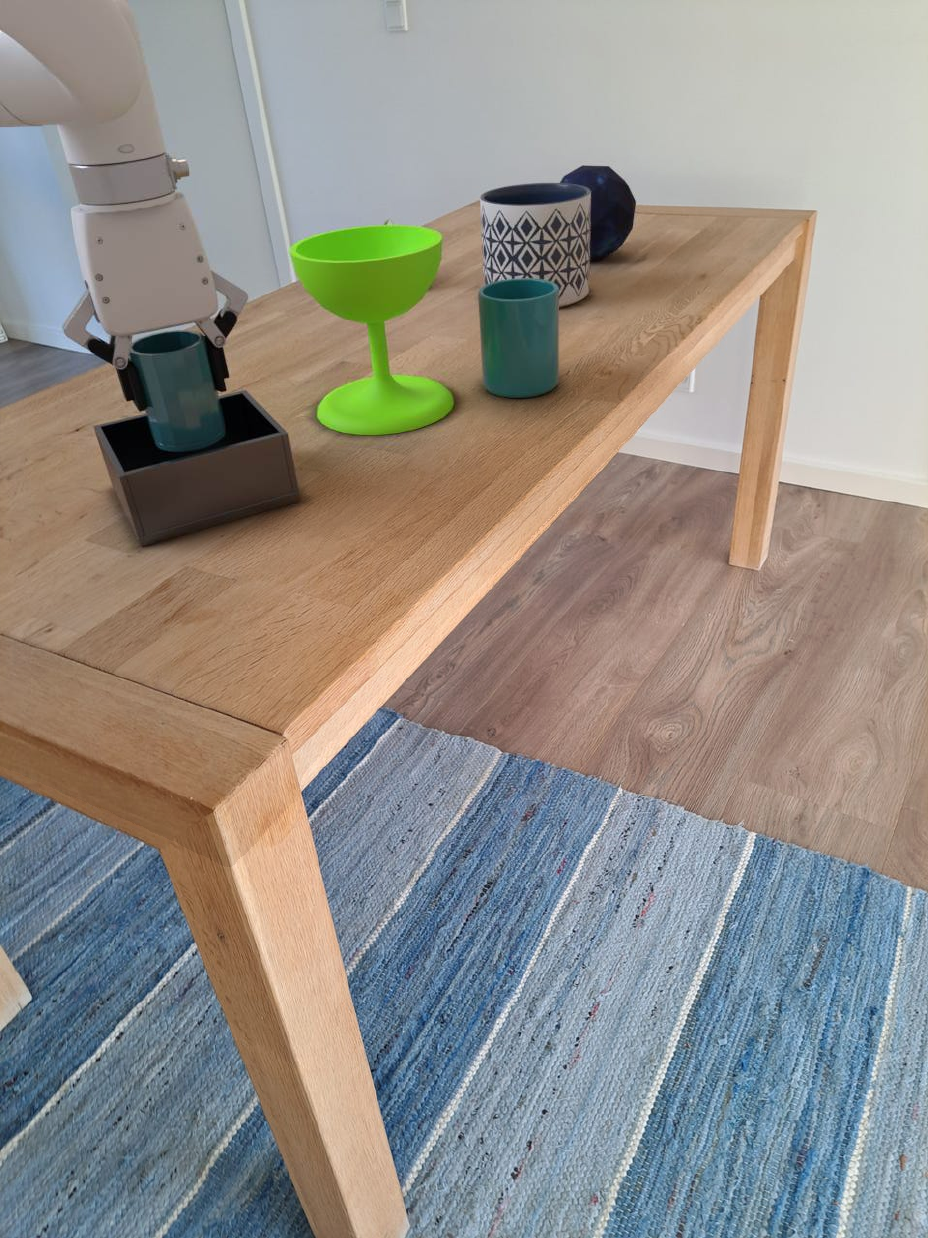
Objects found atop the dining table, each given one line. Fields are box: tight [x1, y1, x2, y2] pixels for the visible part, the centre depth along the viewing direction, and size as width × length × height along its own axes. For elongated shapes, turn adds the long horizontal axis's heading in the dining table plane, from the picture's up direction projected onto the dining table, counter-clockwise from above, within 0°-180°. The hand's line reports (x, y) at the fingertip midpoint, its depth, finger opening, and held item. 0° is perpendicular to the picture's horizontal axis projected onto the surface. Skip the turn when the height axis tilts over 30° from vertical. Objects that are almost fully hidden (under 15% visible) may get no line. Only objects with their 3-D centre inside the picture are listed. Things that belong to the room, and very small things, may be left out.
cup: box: [477, 278, 560, 399], centre depth 103 cm, size 9×12×11 cm
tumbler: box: [129, 329, 226, 452], centre depth 81 cm, size 7×7×9 cm
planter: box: [479, 182, 591, 308], centre depth 131 cm, size 16×16×14 cm
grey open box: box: [93, 389, 301, 547], centre depth 85 cm, size 15×13×7 cm
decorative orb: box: [559, 164, 637, 262], centre depth 147 cm, size 14×15×15 cm
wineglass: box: [289, 224, 455, 436], centre depth 98 cm, size 16×16×18 cm
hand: (179, 395), depth 81 cm, fingers closed on tumbler, 6 cm apart
